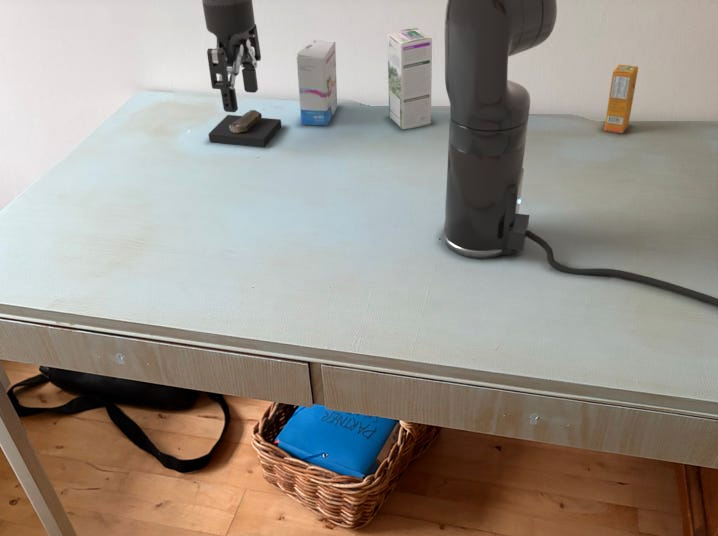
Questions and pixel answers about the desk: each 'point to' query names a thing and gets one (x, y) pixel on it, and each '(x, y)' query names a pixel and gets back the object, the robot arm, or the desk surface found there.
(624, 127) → the supplement box
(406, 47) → the syrup box
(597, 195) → the desk surface
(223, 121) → the black pad
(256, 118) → the block
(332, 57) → the ink box
